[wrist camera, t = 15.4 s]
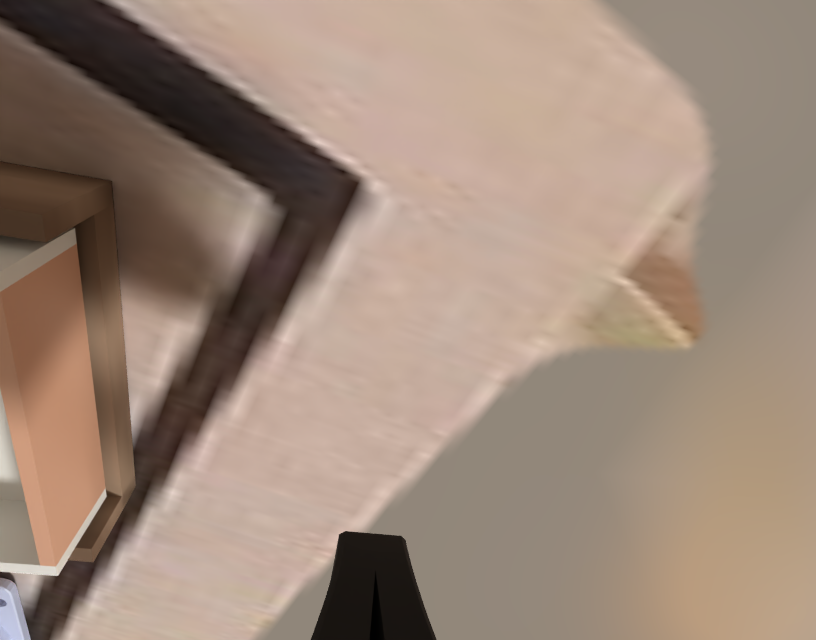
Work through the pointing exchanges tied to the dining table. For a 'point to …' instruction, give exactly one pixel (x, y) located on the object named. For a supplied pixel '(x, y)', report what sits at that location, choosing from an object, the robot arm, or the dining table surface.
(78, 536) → the tray
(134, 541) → the dining table surface
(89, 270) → the dock
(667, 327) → the dining table surface
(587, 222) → the dining table surface
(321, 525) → the dining table surface
